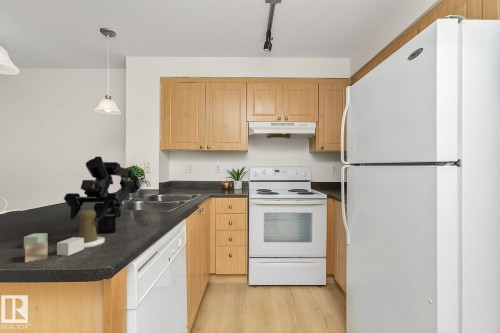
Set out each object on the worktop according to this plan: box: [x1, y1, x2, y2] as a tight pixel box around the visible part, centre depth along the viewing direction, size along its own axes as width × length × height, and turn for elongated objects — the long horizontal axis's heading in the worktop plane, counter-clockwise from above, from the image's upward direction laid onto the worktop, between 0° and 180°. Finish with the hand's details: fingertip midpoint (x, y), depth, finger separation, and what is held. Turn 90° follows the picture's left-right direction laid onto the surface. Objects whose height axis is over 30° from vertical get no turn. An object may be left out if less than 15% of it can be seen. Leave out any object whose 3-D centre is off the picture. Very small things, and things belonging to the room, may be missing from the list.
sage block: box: [23, 232, 49, 249], centre depth 85 cm, size 4×4×4 cm
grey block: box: [56, 236, 85, 256], centre depth 79 cm, size 6×4×4 cm, turn 172°
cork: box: [77, 209, 98, 243], centre depth 88 cm, size 6×6×11 cm
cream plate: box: [84, 235, 106, 249], centre depth 88 cm, size 11×11×1 cm
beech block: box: [24, 241, 49, 263], centre depth 74 cm, size 5×5×4 cm
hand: (85, 219), depth 87 cm, fingers open, 9 cm apart
